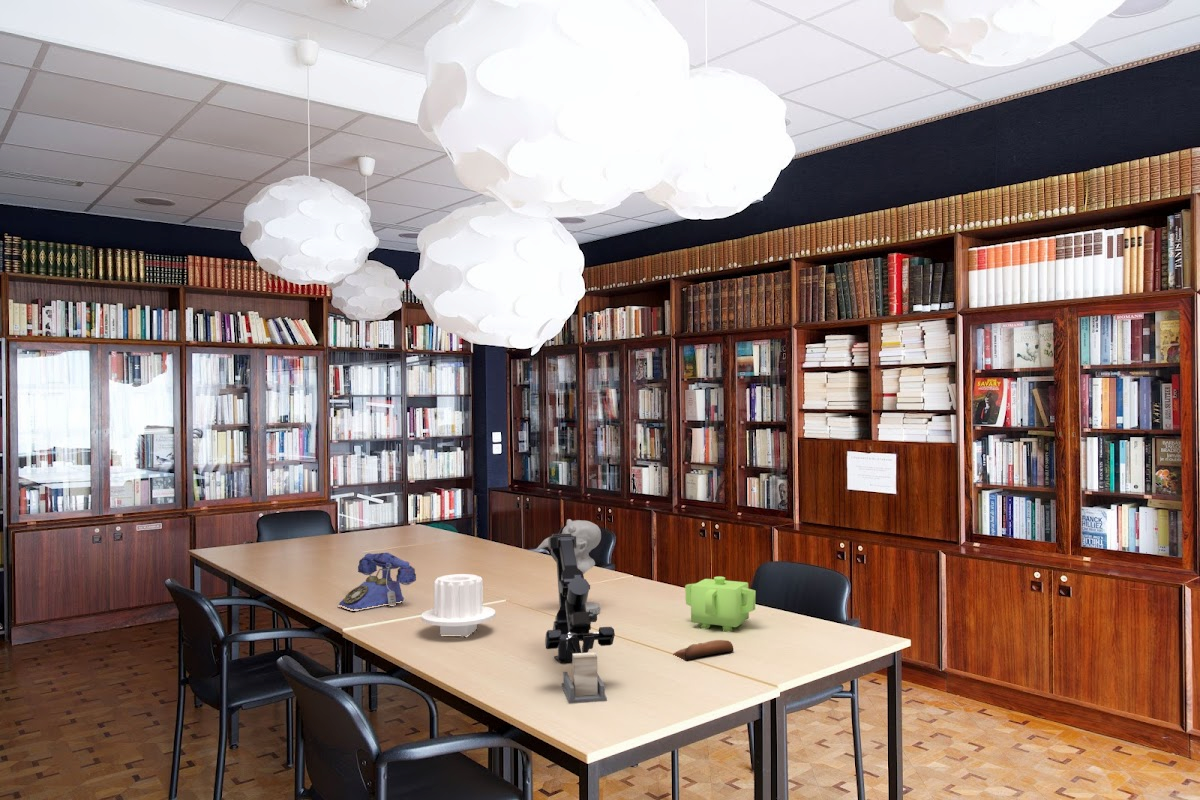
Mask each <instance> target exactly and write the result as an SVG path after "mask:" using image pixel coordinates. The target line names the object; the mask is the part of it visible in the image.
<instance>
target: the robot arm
mask: <svg viewBox="0 0 1200 800" xmlns="http://www.w3.org/2000/svg"><path fill="white" fill-rule="evenodd" d="M549 537H550V538H549ZM549 537H548V538H549V539H548V546H549V547H548V549H549V550H550V556H551V558H552V559H553V561H555V563H556V573H557V587H558V601H559V609H558V610H557V613H556V616H555V618H554V619H555V621H553V626H552V629H548V630H547V631H546V632H545V640H544V642H545V643H544V645H545V649H546V650H554V649H555V650H557V655H554V656H553V658H554V659H555V660H556V661H557V662H559V663H561V664H566V663H573V655H572V654H574V653H589V652H590V650H592V649H593V648H594V643H595V641H597V644H598V645H599V646H601V647H604V646H613V643H614V639H615V636H616V635H615V629H614V628H613V627H612V626H599V628H598V632H597V631H596V632H590V631H591V628H592V626H591V625H592V623H596V622H597V621H598V614H597V612H596V609H592V610H589V612H587V611H586V604H585V603H586V602H588V598H589V592H590V590H591V584H590V583H589V582H588V580H587V579H586V578H585V576H584V574H583V572H582V571H581V570H579V569H578V567H577V562H576V557H575V552H574V548H577V545H576V536H573V535H571V534H562V533H551V536H549ZM580 642H582V647H581V645H580Z"/></svg>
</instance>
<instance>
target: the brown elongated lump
mask: <svg viewBox="0 0 1200 800" xmlns="http://www.w3.org/2000/svg"><path fill="white" fill-rule="evenodd" d="M730 651H731V652H730ZM727 652H730V653H734V646H733V643H732V642H731V641H729V640H726V639H725V640H724V639H716V640H714V639H713V640H710V641H706V642H699V643H693V644H690V645H689V646H688V647H686V648H681V649H679V650H677V651H675V652H673V654H672V656H674V655H675V657H676V656H677V658H678V657H679V659H680V658H681V660H682V659H683V661H684V662H685V661H688V660H689V661H690V660H693V659H696V658H697V659H698V658H701V657H704V656H709V655H715V654H722V653H727Z"/></svg>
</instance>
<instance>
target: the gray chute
mask: <svg viewBox="0 0 1200 800" xmlns="http://www.w3.org/2000/svg"><path fill="white" fill-rule="evenodd" d="M562 676H563V681H562V683H561V687H562V690H563V694H564V695H565V697H567V698H566V699H567V702H568V704H577V703H580V704H581V703H591V702H592V703H593V701H594V702H605V701H607V699H608V697H607V695H606V687H605V684H604V682H603V680H602V678H601V677H600V675H599V673H598V672H597V683H598V695H585V696H575V694H574V686H573V681H572V680H571V677H570V676H569V673H568V671H563V674H562Z"/></svg>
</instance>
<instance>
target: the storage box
mask: <svg viewBox="0 0 1200 800" xmlns="http://www.w3.org/2000/svg"><path fill="white" fill-rule="evenodd" d="M684 587H685V588H684V590H685V604H686V605H687V606H690V620H691V621H690V623H695V624H696V623H697V624H700V626H699V628H700V627H701V628H709V629H710V628H711V626H712V625H714V626H722V631H723V630H724V631H723V632H726V631H731V632H733V631H732V630H733V628H737V627H740V626H741V624H742V623H744V622H745V621H747V620H749V617H750V616H749V615H750V612H753V611H755V610H756V596H757V595H756V590H755V589H751V588H749V582H747V581H735V580H726V577H724V576H719V575H718V576H714V577H713V579H712V578H704V579H702V580H699V581H698V582H695V583H687V584H685V585H684ZM739 625H740V626H739ZM701 628H700V629H701Z"/></svg>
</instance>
